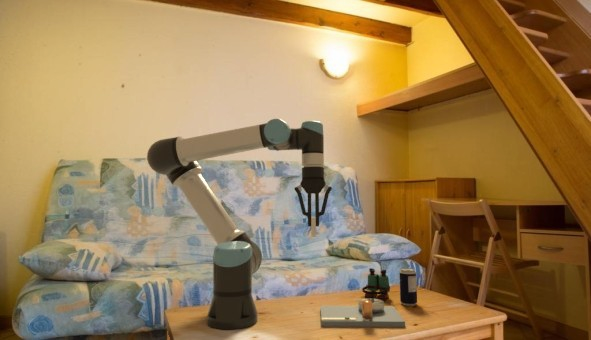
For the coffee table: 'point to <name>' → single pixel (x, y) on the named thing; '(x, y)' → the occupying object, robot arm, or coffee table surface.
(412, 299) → the beverage can
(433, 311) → the coffee table surface
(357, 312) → the level board
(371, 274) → the binoculars
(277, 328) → the coffee table surface
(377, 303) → the cam lever
